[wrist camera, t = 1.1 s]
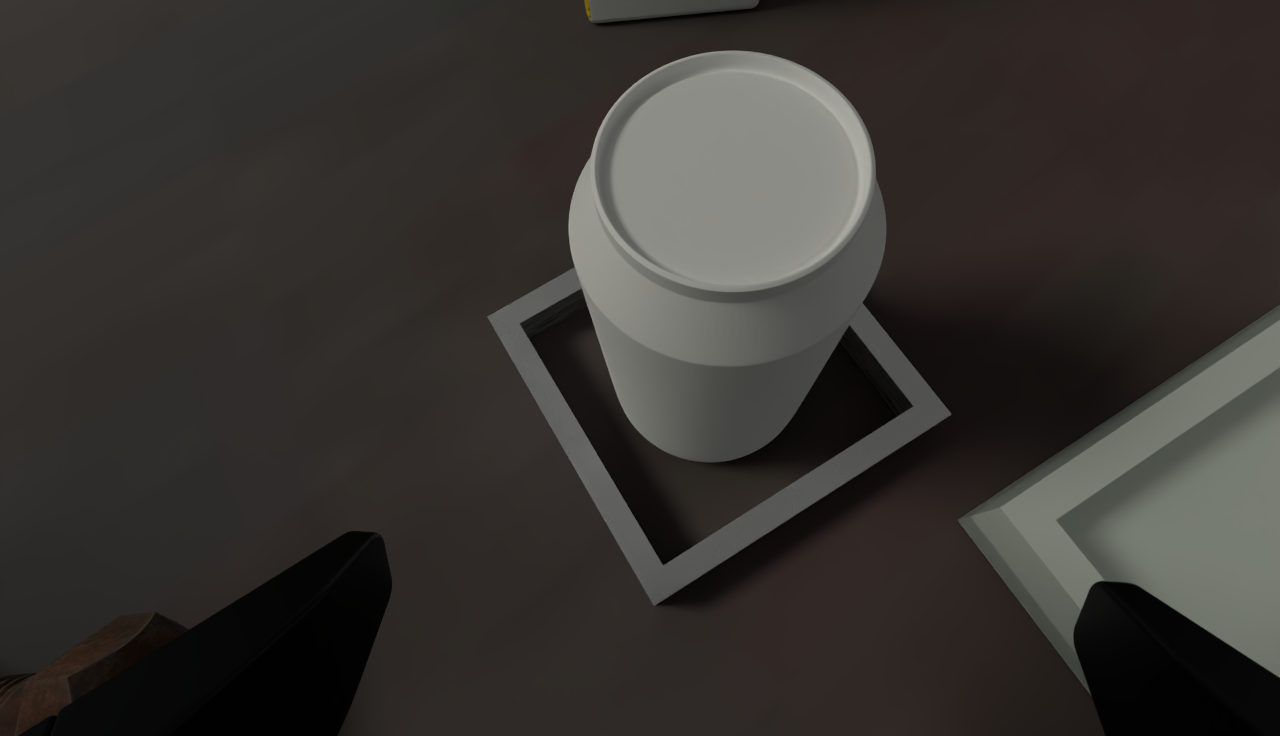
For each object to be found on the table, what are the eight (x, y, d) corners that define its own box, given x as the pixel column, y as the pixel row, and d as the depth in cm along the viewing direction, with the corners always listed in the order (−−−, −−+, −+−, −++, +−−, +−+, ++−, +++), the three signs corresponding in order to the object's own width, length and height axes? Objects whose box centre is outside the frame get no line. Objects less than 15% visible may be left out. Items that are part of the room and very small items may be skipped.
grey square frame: (934, 426, 22) (951, 414, 21) (656, 605, 21) (654, 605, 19) (749, 190, 25) (753, 166, 24) (499, 333, 24) (487, 316, 22)
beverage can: (839, 390, 23) (997, 179, 11) (694, 508, 22) (708, 406, 10) (718, 262, 24) (749, -32, 13) (580, 365, 23) (483, 144, 12)
